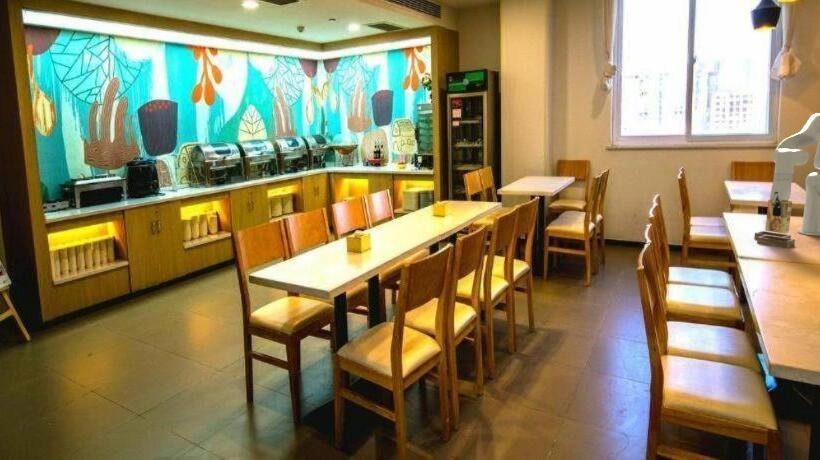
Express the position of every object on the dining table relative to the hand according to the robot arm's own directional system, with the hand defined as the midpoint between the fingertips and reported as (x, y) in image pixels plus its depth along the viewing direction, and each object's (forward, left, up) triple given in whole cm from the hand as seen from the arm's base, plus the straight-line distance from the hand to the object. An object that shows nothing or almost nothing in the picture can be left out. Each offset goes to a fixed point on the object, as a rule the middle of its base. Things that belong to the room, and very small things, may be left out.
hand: (778, 214), depth 263 cm
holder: (-4, -2, -15) cm, 15 cm away
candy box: (0, 0, -9) cm, 9 cm away
